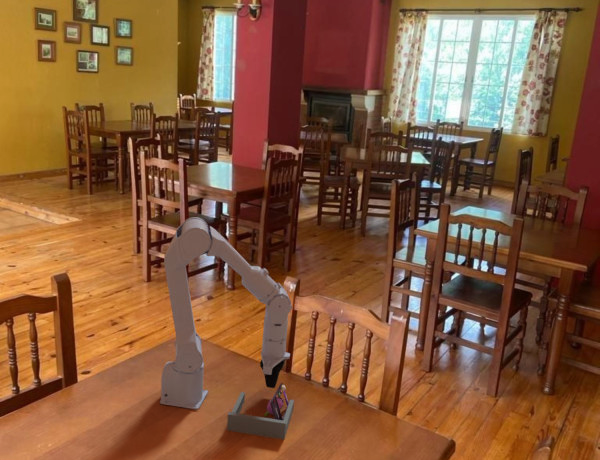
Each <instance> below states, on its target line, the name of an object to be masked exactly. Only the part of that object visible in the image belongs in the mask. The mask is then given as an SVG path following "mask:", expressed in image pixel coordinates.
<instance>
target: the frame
mask: <svg viewBox="0 0 600 460" xmlns="http://www.w3.org/2000/svg"><path fill="white" fill-rule="evenodd" d="M239 393H240V394H239V395H238V398H237V400H236V402H235V403H234V406H233V408H232V410H231V411H229V412H228V413H227V423H226V431H230V432H237V433H241V434H242V433H243V434H249V435H255V436H260V437H266V438H272V439H278V440H285V438H286V436H287V433H288V429H289V424H290V422H291V418H292V415H293V412H294V407H295V400H294V399H289V400H288V402H289V404H288V407H287V406H286V407H287V408H286V410H287V411H286V410H285V412H286V414H285V413H284V414H285V417H284V420H276V419H275V418H271V417H270V418H269V417H265V416H264V417H263V416H256V415H250V414H243V413H240V412H241V411H242V408H243V406H244V404H245V401H246V392H243V391H240V392H239Z"/></svg>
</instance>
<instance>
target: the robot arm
mask: <svg viewBox="0 0 600 460" xmlns="http://www.w3.org/2000/svg"><path fill="white" fill-rule="evenodd" d="M203 254H206V257H219V258H220V259H221V260H222V261H223V262H225V264H226V265H228V266H229V267H230V268H231V269H233V270H234V271H235V272H236V273H237V274H238V275H240V276H241V285H242V287H244V288H245V289H246V290H247V291H249V292H250V293H251V294H252V296H254V297H255V298H256V299H257V300H258V301H259V302H260V303H263V304H264V305H265V306H266V307H265V308H264V309H265V312H264V317H263V333H262V344H261V351H260V356H261V360H260V363H259V366H260V369H261V370H262V374H263V376H264V379H265V380H264V381H265V385H266V387H267V388H270V389H275V388H276V386H277V383H278V380H279V376H280V372H281V370H282V369H283V367H284V365H285V363H286V360H290V357H291V353H290V352H286V350H287V337H288V327H289V325H288V323H289V319H288V317H289V314H290V313H291V310H292V308H293V305H292V302H291V298H290V296H289V295H288V292H287V291H286V289H285V288H284V286H283V285H281V283H280V282H276V281H274V279H272V277H271V276H270V275H269V274H270V273H269V271H268V269H266V268H265V267H263V268H261V266H259V265H251V264H250V263H248V262H247V260H246V259H245V257H243V256H242V255H241V254H240V253H239V252H238V251H237V250H236V249H235V248H234V246H233V245H232V244H231V243H229V242H228V240H227V239H226V238H225V237H224V236H222V234H221V233H220V232H218V231H217V230H216V229H215V228H214V227H212V226H211V225H208V223H207V222H206V221H205V220H204V219H203V218H202V217H201V218H200V217H198V216H197V217H195V216H193V217H188V218H186V220H184V221H183V222H182V223H181V224H180V225H179V226H178V227H177V228H176V230H175V233H174V236H173V237H172V240H171V242H170V244H169V246H168V248H167V250H166V252H165V254H164V257H163V258H164V259H163V260H164V262H163V265H164V271H165V275H166V276H165V277H166V283H167V289H168V295H169V301H170V307H171V313H172V319H173V325H174V331H175V341H174V346H175V359H174V360H173V361H167V362H166V363H165V364H164V365H163V369H162V373H161V382H160V384H161V385H160V390H161V391H160V393H161V394H160V396H161V397H160V400H159V404H161V405H167V406H173V407H178V408H184V409H192V410H199V409H200V408H201V405H202V404H203V402H204V400H205V399H206V397H207V396H208V395H209V391H208V390H207V389H204V368H205V365H204V364H205V363H204V356H203V351H202V343H203V342H202V339H201V336H199V334H198V332H197V330H196V324H195V318H194V313H193V305H192V299H191V294H190V293H191V292H190V286H189V278H188V273H187V267H186V266H188V264H189V265H190V262H191V261H192V260H194V259H196V258H198V257H200V256H202V255H203Z"/></svg>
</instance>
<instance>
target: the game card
mask: <svg viewBox="0 0 600 460" xmlns="http://www.w3.org/2000/svg"><path fill="white" fill-rule="evenodd" d="M286 388H287V387H286V386H285V384H284V382H281V383H280V384H279V386H278V388H277V389H276V391H275V393H274V395H273V397H272V398H271V399H270V400H269V401H268V403H267V405H266V410H267V412H265V414H264V417H266V416H268V415H269V414H271V415H273V419H276V420H284V417H285V414H286V411H287V407H288V404H289V400H288V395H287V393H286ZM282 393H283V396H284V399H283V398H282V397H281V395H282ZM284 401H285V403H286V410H285V412H284V414H283V415H282V413H281V409H282V408H283V407H284V405H285V403H284Z"/></svg>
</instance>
